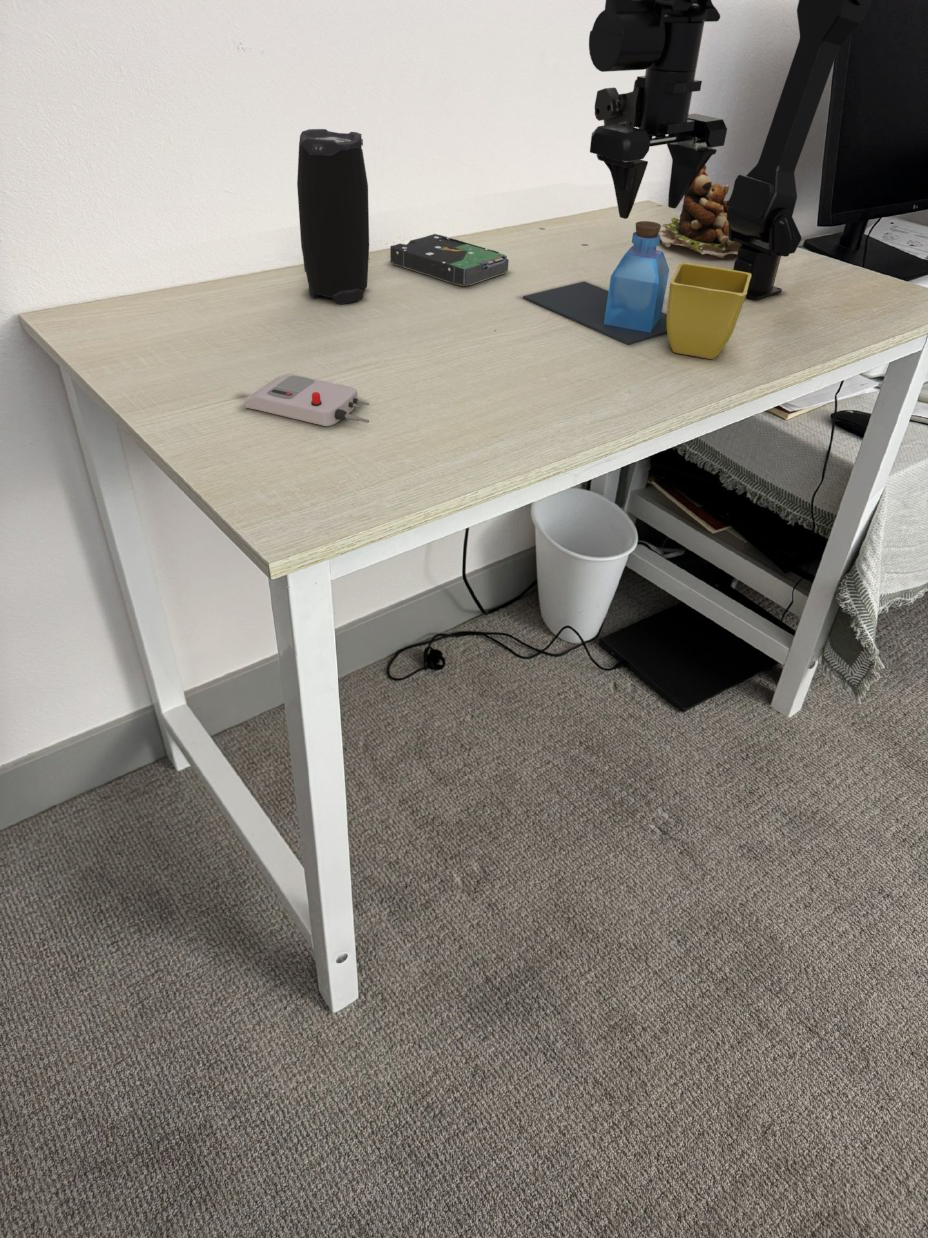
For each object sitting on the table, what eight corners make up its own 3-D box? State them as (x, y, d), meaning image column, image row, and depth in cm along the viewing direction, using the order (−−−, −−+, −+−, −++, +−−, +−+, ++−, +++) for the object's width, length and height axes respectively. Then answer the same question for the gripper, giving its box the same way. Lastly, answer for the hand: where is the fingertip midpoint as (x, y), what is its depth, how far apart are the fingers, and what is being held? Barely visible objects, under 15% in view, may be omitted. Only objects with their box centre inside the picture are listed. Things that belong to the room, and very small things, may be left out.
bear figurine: (692, 264, 137) (709, 179, 130) (643, 237, 148) (656, 157, 140) (764, 258, 141) (784, 175, 134) (711, 232, 152) (727, 154, 144)
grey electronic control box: (264, 381, 97) (261, 355, 95) (391, 410, 93) (391, 383, 91) (230, 404, 92) (226, 377, 91) (362, 436, 88) (361, 408, 86)
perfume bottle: (603, 323, 115) (617, 226, 107) (615, 309, 119) (629, 215, 112) (650, 332, 113) (667, 234, 105) (660, 317, 117) (678, 222, 110)
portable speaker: (379, 288, 123) (376, 130, 110) (353, 310, 116) (348, 144, 103) (322, 279, 124) (313, 123, 112) (294, 300, 117) (281, 136, 105)
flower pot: (735, 343, 112) (752, 271, 106) (728, 369, 105) (746, 293, 100) (666, 332, 114) (680, 261, 108) (655, 357, 107) (669, 282, 102)
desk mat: (584, 283, 128) (584, 281, 128) (690, 325, 116) (690, 323, 116) (522, 298, 122) (522, 295, 122) (628, 344, 110) (628, 342, 110)
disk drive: (388, 265, 131) (465, 288, 124) (388, 246, 129) (465, 268, 122) (434, 251, 137) (509, 272, 130) (434, 232, 136) (510, 252, 128)
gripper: (670, 55, 111) (649, 189, 120) (564, 63, 101) (551, 208, 111) (742, 67, 104) (714, 208, 114) (636, 77, 95) (615, 229, 104)
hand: (648, 212), depth 111 cm, fingers open, 9 cm apart
